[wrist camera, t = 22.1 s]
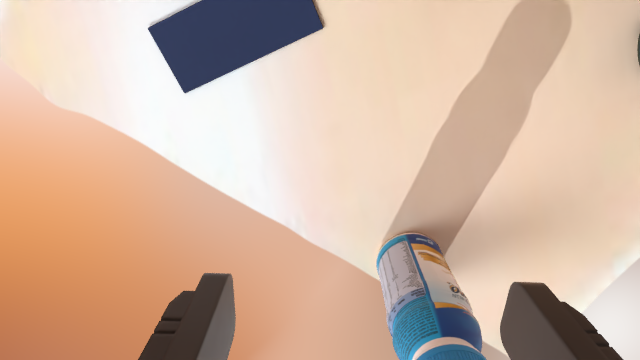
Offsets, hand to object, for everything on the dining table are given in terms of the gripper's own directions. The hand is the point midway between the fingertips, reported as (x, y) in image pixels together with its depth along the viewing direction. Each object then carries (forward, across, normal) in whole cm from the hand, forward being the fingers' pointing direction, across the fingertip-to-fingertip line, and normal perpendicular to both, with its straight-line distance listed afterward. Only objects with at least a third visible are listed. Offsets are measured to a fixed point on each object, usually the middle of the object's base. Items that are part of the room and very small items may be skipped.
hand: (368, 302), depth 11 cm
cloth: (+32, +10, -7) cm, 34 cm away
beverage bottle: (+32, -10, +20) cm, 39 cm away
